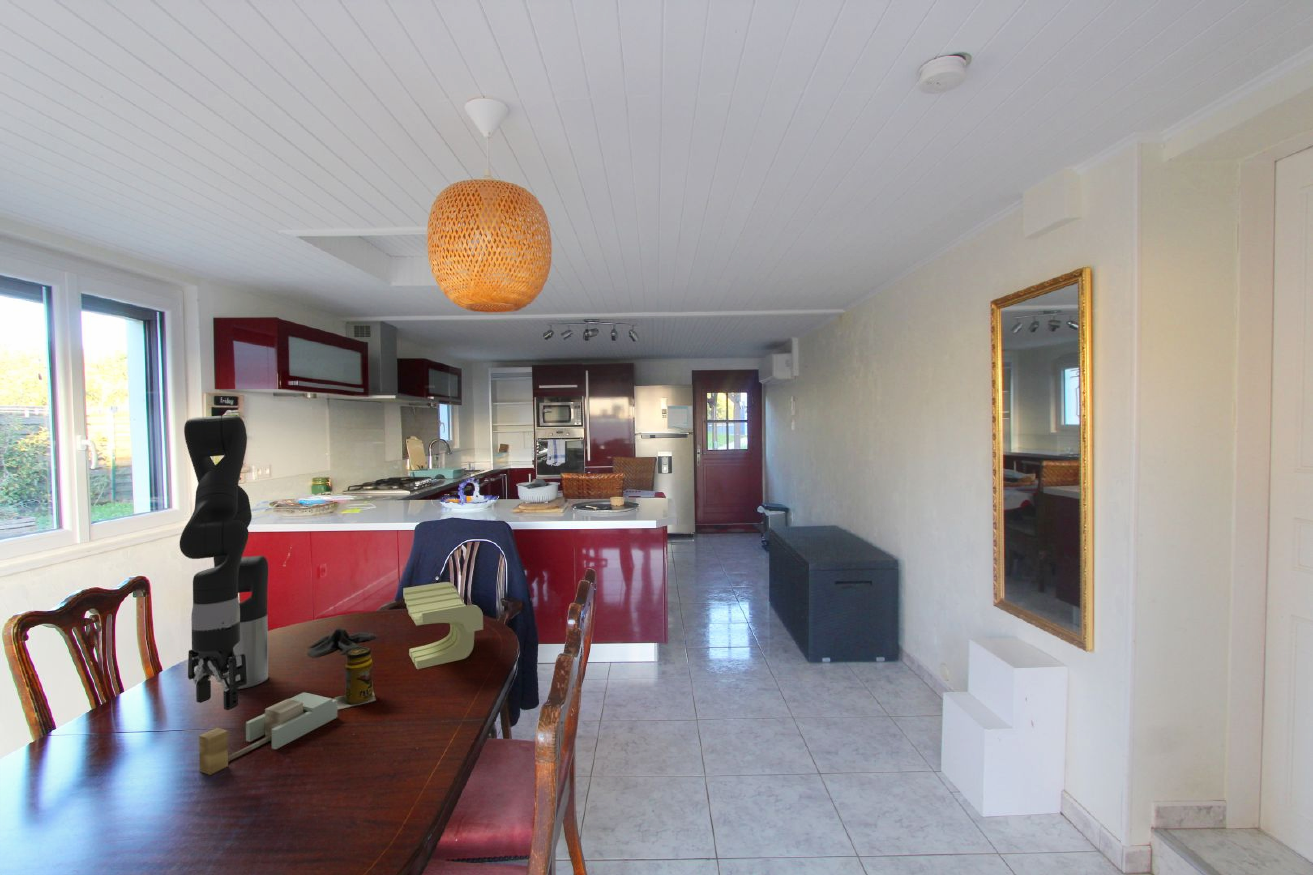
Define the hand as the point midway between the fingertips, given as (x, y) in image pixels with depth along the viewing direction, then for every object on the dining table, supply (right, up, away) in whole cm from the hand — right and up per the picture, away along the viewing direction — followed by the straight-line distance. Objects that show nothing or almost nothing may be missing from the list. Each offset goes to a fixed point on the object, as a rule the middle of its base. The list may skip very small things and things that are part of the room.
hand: (217, 704), depth 110 cm
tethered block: (+3, -12, +6) cm, 14 cm away
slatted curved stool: (+23, -12, +55) cm, 61 cm away
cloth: (-13, -13, +64) cm, 66 cm away
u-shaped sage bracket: (+6, -12, +14) cm, 20 cm away
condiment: (+12, -12, +28) cm, 33 cm away
